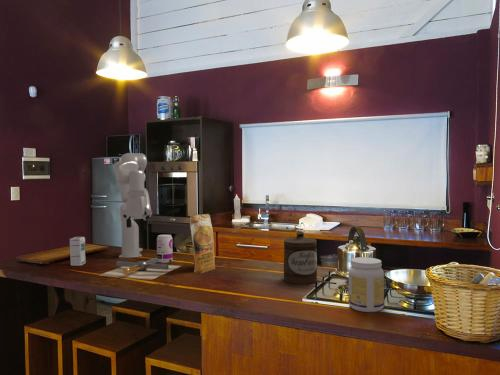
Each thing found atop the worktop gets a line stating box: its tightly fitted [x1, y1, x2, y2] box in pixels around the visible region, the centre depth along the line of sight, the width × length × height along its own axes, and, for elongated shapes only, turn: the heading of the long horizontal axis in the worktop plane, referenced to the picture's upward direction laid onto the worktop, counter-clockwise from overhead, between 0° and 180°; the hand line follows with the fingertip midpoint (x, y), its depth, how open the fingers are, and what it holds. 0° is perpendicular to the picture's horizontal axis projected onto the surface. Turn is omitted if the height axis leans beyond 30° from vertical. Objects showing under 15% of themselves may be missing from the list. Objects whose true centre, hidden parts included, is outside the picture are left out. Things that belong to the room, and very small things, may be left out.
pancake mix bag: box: [189, 213, 216, 275], centre depth 195 cm, size 7×19×28 cm, turn 148°
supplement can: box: [156, 234, 174, 264], centre depth 213 cm, size 8×8×15 cm
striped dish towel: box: [99, 264, 181, 281], centre depth 192 cm, size 28×28×2 cm
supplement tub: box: [348, 256, 385, 313], centre depth 140 cm, size 12×12×17 cm
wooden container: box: [283, 230, 318, 285], centre depth 178 cm, size 15×15×22 cm
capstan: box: [115, 257, 169, 274], centre depth 192 cm, size 28×28×4 cm
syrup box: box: [69, 236, 87, 267], centre depth 211 cm, size 6×6×14 cm
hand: (137, 227), depth 203 cm, fingers open, 9 cm apart
